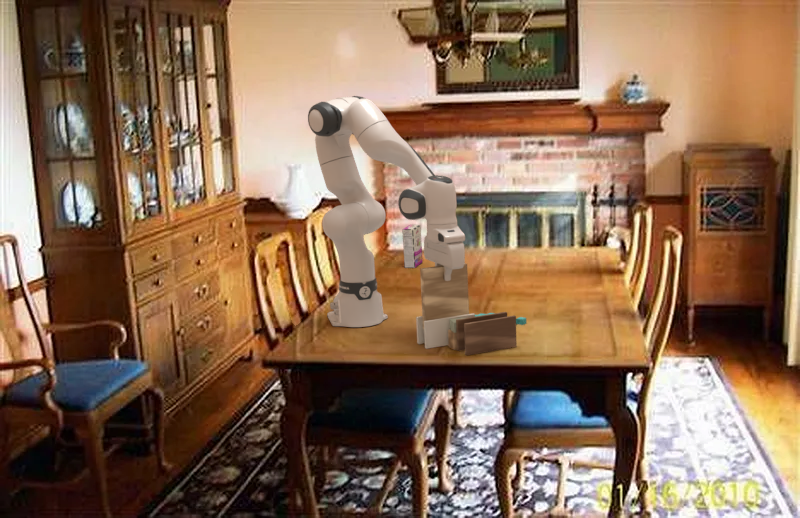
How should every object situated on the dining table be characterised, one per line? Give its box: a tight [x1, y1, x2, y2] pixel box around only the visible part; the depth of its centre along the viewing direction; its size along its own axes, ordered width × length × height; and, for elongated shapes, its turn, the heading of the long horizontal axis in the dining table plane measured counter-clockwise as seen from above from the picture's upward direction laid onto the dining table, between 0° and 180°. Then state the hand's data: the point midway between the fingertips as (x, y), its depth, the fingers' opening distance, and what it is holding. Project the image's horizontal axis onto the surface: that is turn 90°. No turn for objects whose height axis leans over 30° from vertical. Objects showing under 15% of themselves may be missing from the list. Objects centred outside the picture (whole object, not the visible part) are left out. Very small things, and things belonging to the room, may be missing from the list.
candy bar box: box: [401, 224, 423, 269], centre depth 381 cm, size 11×5×16 cm, turn 162°
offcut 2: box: [448, 330, 458, 351], centre depth 265 cm, size 4×6×5 cm, turn 113°
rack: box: [456, 311, 517, 356], centre depth 262 cm, size 6×16×9 cm, turn 113°
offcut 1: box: [450, 318, 463, 333], centre depth 264 cm, size 4×5×3 cm
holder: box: [415, 313, 476, 350], centre depth 270 cm, size 6×16×8 cm, turn 113°
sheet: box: [419, 263, 470, 329], centre depth 268 cm, size 2×14×18 cm, turn 113°
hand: (444, 279), depth 267 cm, fingers closed on sheet, 2 cm apart
